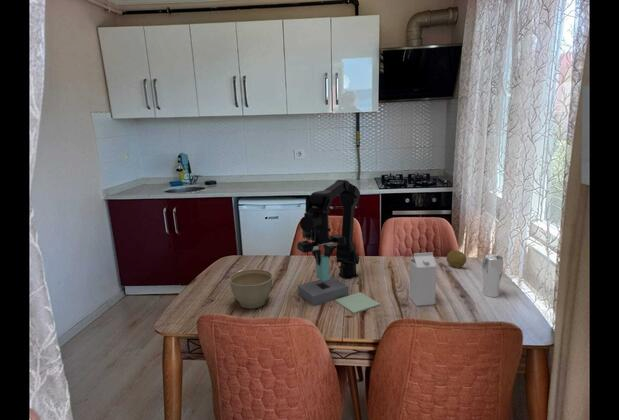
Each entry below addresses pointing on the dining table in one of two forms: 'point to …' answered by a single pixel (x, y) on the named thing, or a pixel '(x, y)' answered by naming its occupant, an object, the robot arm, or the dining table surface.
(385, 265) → the dining table surface
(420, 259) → the milk carton
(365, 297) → the mat
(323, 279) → the plug
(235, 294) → the planter bowl
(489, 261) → the silver can
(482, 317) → the dining table surface
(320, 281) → the socket block
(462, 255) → the olive green melon
